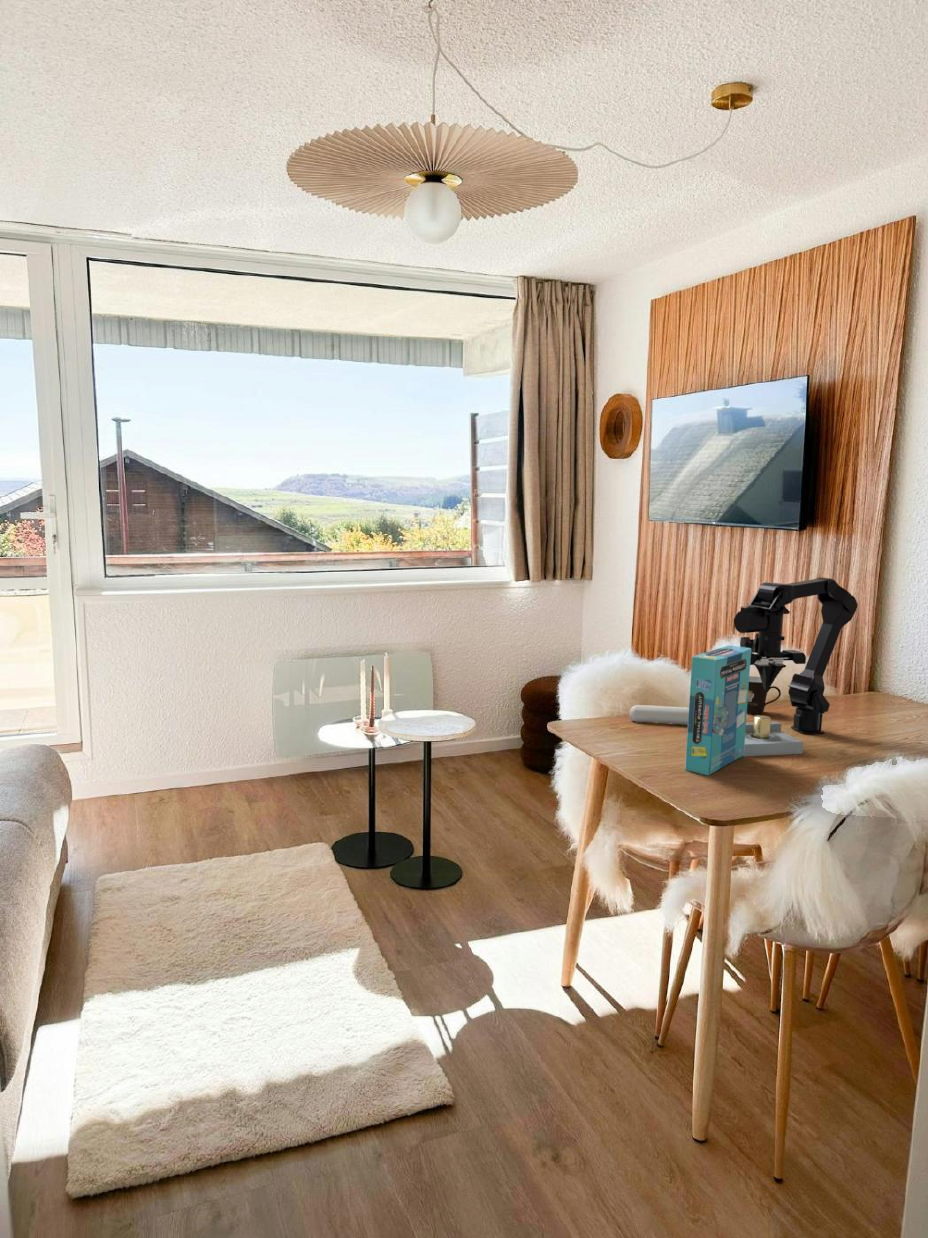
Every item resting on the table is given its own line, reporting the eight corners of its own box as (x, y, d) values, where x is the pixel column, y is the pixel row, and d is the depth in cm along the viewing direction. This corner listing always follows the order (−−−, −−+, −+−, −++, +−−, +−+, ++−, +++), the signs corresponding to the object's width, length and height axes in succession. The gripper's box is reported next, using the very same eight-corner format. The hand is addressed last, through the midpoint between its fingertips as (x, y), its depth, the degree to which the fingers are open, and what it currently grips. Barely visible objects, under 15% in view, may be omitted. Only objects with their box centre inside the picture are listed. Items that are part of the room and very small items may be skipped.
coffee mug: (730, 709, 260) (732, 677, 258) (752, 707, 263) (754, 675, 262) (758, 719, 249) (761, 685, 248) (781, 716, 253) (783, 683, 251)
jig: (775, 740, 228) (777, 721, 227) (802, 753, 216) (804, 734, 216) (720, 742, 225) (721, 723, 224) (744, 756, 213) (745, 736, 212)
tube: (629, 710, 241) (722, 715, 237) (629, 700, 246) (720, 705, 242) (629, 726, 244) (721, 731, 239) (629, 716, 248) (719, 721, 244)
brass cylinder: (763, 745, 223) (765, 715, 222) (771, 749, 219) (774, 719, 218) (749, 746, 222) (751, 715, 221) (757, 750, 218) (759, 719, 217)
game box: (719, 751, 217) (726, 644, 213) (744, 756, 213) (752, 648, 209) (683, 770, 201) (690, 655, 197) (709, 776, 197) (717, 659, 193)
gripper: (785, 626, 236) (780, 682, 238) (722, 626, 232) (718, 683, 235) (809, 632, 225) (804, 691, 228) (744, 633, 222) (739, 693, 224)
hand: (766, 689), depth 229 cm, fingers closed
